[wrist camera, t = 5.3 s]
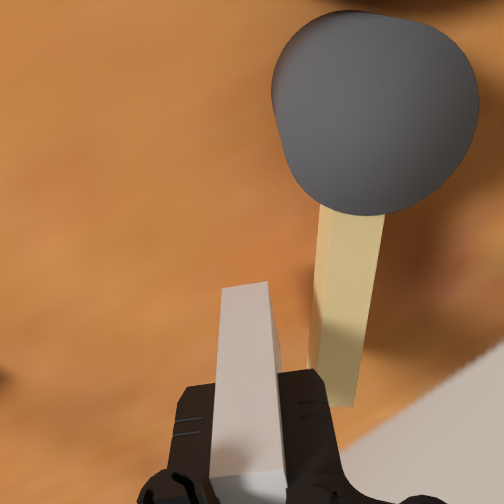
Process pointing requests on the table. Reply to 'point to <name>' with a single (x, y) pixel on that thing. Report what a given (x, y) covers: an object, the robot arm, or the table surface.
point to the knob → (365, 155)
